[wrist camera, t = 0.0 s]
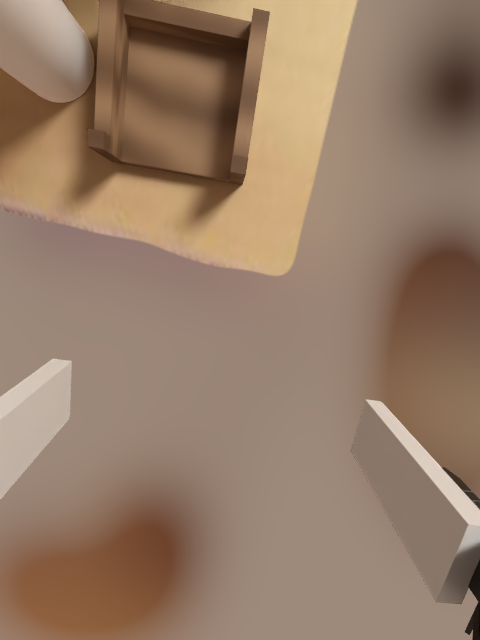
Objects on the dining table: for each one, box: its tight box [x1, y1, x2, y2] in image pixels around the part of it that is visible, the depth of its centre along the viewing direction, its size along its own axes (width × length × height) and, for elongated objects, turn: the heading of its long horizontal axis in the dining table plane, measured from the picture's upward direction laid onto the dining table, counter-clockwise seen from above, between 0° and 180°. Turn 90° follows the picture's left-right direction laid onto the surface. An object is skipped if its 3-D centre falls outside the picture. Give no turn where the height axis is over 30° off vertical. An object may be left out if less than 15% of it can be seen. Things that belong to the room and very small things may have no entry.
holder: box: [87, 0, 270, 184], centre depth 33 cm, size 14×15×7 cm
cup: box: [0, 0, 95, 103], centre depth 27 cm, size 8×8×16 cm
